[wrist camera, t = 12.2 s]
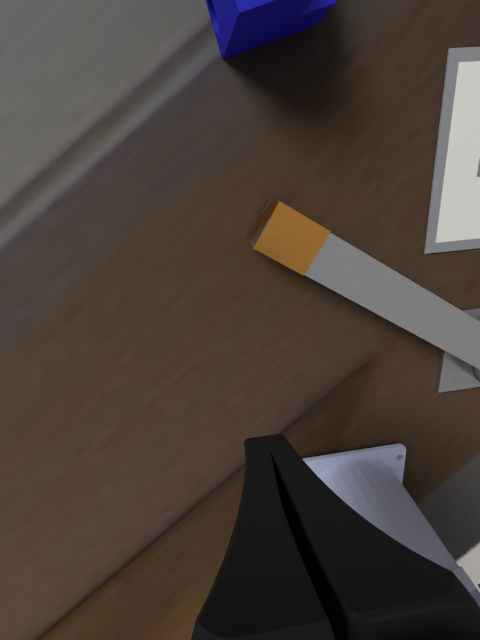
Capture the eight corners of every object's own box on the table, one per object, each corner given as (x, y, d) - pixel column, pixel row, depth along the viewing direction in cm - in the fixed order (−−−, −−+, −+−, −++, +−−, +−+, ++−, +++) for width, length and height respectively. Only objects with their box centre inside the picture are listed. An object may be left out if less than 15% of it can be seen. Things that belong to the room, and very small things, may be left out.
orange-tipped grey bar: (526, 336, 26) (556, 351, 23) (487, 383, 27) (513, 402, 25) (276, 183, 20) (287, 186, 18) (239, 252, 21) (245, 262, 19)
